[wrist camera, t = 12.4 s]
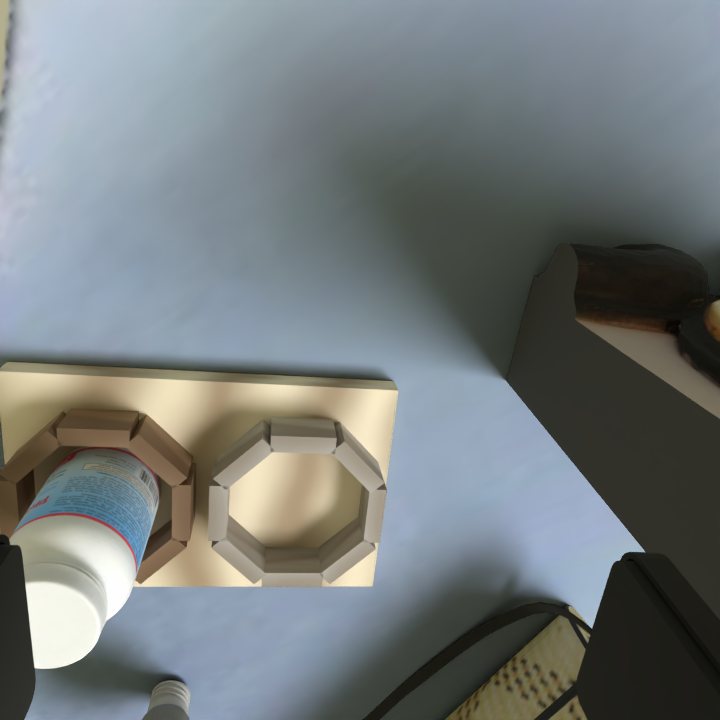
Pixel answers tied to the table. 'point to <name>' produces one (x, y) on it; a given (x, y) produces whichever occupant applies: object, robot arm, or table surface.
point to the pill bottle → (84, 548)
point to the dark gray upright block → (633, 391)
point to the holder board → (206, 432)
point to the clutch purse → (518, 672)
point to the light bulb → (169, 702)
